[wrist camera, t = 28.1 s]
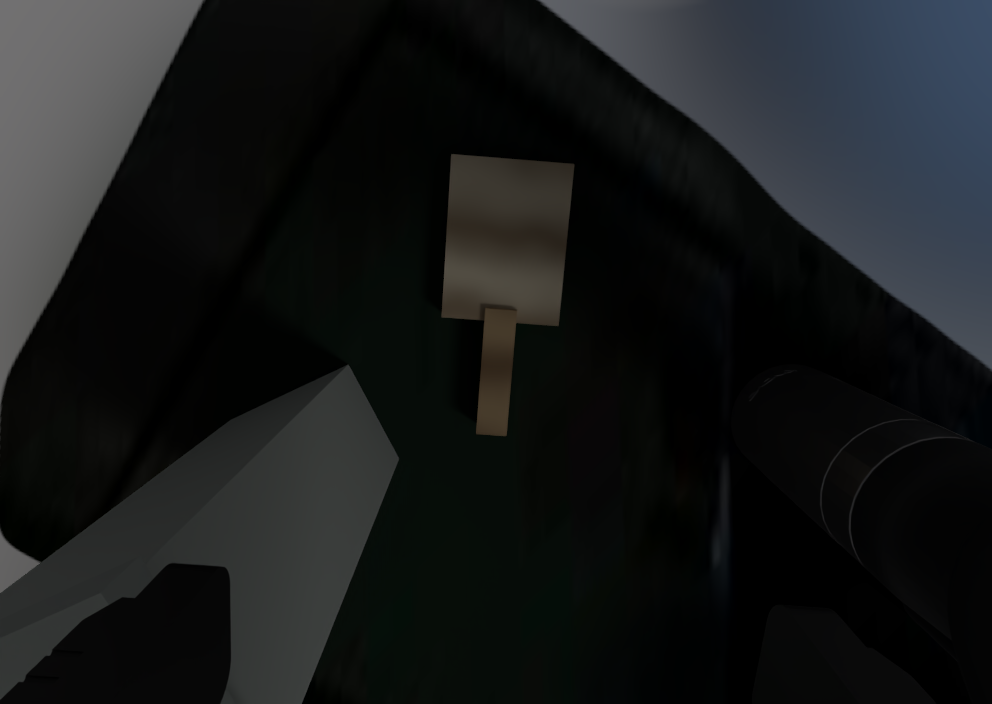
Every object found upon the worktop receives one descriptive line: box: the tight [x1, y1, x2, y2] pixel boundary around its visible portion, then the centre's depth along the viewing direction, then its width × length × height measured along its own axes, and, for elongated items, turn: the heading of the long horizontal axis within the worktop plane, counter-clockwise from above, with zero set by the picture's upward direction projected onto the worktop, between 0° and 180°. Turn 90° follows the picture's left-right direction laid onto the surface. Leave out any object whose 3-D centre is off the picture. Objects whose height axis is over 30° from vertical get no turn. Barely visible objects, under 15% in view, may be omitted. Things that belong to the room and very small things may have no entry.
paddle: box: [442, 154, 574, 436], centre depth 47 cm, size 21×9×2 cm, turn 176°
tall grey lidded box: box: [0, 365, 399, 704], centre depth 35 cm, size 10×12×32 cm
